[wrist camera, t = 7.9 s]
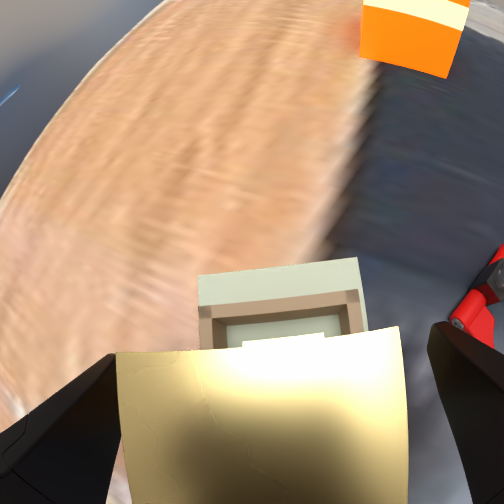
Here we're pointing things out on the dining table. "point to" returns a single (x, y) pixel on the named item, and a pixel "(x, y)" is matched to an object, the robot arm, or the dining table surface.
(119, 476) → the dining table surface
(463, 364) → the robot arm
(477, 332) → the tow hook
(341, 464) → the gold square pillar
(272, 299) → the pale green slotted base
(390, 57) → the orange juice
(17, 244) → the dining table surface
